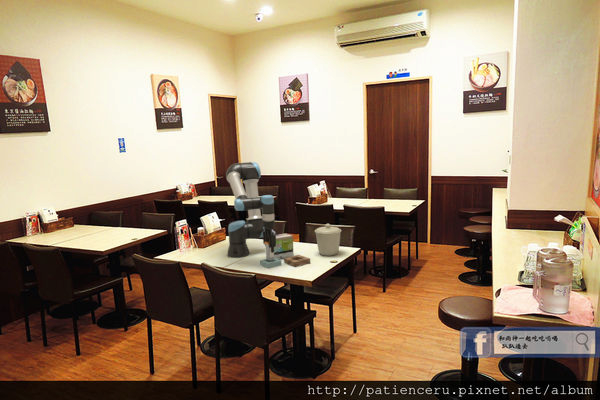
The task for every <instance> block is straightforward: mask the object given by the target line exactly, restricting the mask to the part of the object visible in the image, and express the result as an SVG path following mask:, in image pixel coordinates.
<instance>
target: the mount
mask: <svg viewBox="0 0 600 400" xmlns="http://www.w3.org/2000/svg"><path fill="white" fill-rule="evenodd" d="M282 263H283V262H282V260H281V259H276V258H274V261H273V262H267V261H266V258H263V259H260V260H259V265H260V266H261V267H264V268H266V269H272V268H276V267H278V266H279V267H281V266H282Z"/></svg>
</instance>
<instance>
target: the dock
mask: <svg viewBox="0 0 600 400" xmlns="http://www.w3.org/2000/svg"><path fill="white" fill-rule="evenodd" d="M283 262H284V264H286V265H290V266H291V267H293V268H297V267H301V266H305V265H308V264H311V258H310V257H306V256H304V255H301V254H296V255H293V256H292V257H287V258H283Z"/></svg>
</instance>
